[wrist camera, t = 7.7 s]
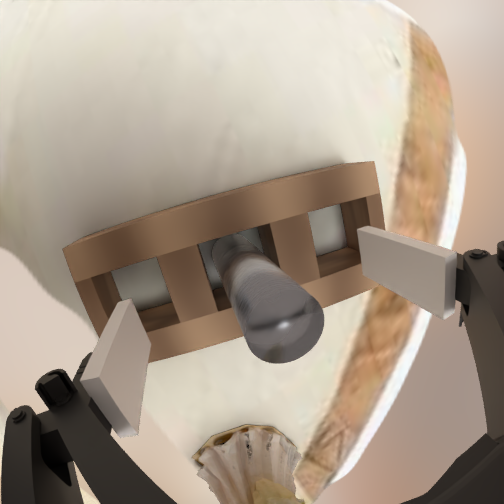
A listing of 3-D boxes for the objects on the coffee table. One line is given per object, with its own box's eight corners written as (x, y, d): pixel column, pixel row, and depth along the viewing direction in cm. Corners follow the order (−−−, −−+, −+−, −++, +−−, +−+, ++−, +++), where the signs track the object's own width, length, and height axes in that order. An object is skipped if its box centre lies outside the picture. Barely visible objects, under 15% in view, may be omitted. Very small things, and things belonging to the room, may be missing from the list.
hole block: (125, 342, 21) (116, 370, 18) (82, 237, 19) (62, 248, 15) (363, 267, 24) (390, 280, 21) (345, 163, 22) (374, 161, 18)
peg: (218, 278, 22) (257, 373, 11) (207, 240, 21) (235, 306, 10) (256, 266, 22) (328, 346, 11) (246, 228, 22) (317, 278, 10)
